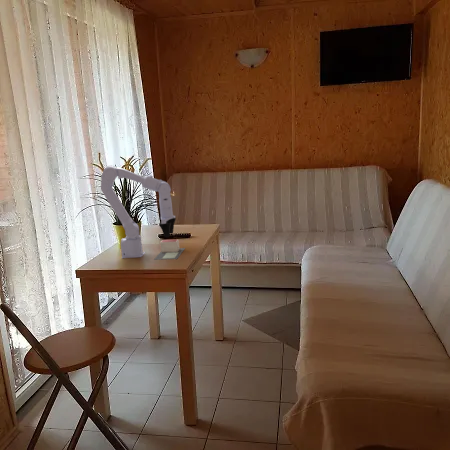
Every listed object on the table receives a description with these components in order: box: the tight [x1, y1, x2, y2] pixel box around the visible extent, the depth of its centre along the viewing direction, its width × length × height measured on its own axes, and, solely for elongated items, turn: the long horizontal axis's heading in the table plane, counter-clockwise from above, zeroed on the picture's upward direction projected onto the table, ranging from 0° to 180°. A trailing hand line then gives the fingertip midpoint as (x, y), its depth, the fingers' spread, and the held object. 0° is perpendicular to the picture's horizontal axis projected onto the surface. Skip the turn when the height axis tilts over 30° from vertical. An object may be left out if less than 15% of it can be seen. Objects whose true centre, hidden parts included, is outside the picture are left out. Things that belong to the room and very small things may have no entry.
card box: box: [159, 238, 180, 252], centre depth 214 cm, size 8×4×5 cm, turn 83°
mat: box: [153, 247, 186, 261], centre depth 210 cm, size 11×18×1 cm, turn 173°
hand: (168, 235), depth 213 cm, fingers open, 7 cm apart
